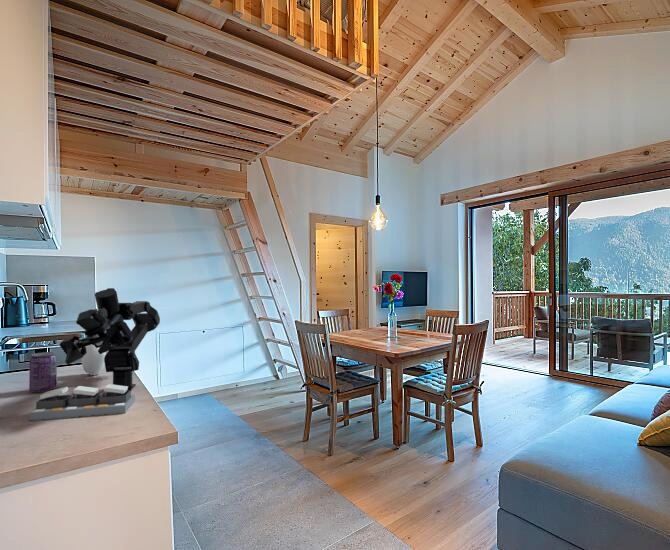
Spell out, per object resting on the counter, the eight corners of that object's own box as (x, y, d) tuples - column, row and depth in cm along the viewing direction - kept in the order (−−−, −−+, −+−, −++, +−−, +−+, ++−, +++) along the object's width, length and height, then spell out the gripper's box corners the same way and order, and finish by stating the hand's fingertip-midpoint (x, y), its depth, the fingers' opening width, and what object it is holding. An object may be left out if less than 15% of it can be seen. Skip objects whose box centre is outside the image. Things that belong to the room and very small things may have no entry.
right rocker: (107, 387, 109) (108, 383, 109) (127, 389, 110) (128, 386, 110) (103, 391, 106) (104, 387, 106) (123, 393, 107) (124, 390, 107)
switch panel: (47, 407, 108) (47, 392, 108) (134, 401, 114) (135, 386, 114) (28, 420, 98) (28, 403, 98) (125, 413, 104) (125, 396, 104)
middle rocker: (78, 389, 107) (78, 385, 107) (98, 391, 108) (99, 388, 109) (72, 393, 104) (73, 389, 104) (93, 395, 105) (94, 392, 105)
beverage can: (52, 385, 130) (53, 350, 130) (59, 389, 126) (59, 353, 126) (26, 390, 125) (26, 354, 125) (32, 394, 120) (32, 356, 120)
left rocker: (47, 395, 105) (46, 391, 105) (68, 390, 107) (67, 386, 107) (40, 399, 102) (39, 395, 102) (62, 393, 103) (61, 390, 103)
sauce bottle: (79, 378, 140) (79, 329, 140) (83, 373, 147) (84, 326, 147) (104, 376, 143) (104, 328, 143) (107, 371, 150) (107, 325, 150)
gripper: (63, 314, 113) (31, 344, 98) (123, 295, 112) (99, 322, 98) (84, 344, 117) (56, 376, 103) (141, 325, 117) (122, 356, 103)
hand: (83, 357), depth 102 cm, fingers open, 9 cm apart
